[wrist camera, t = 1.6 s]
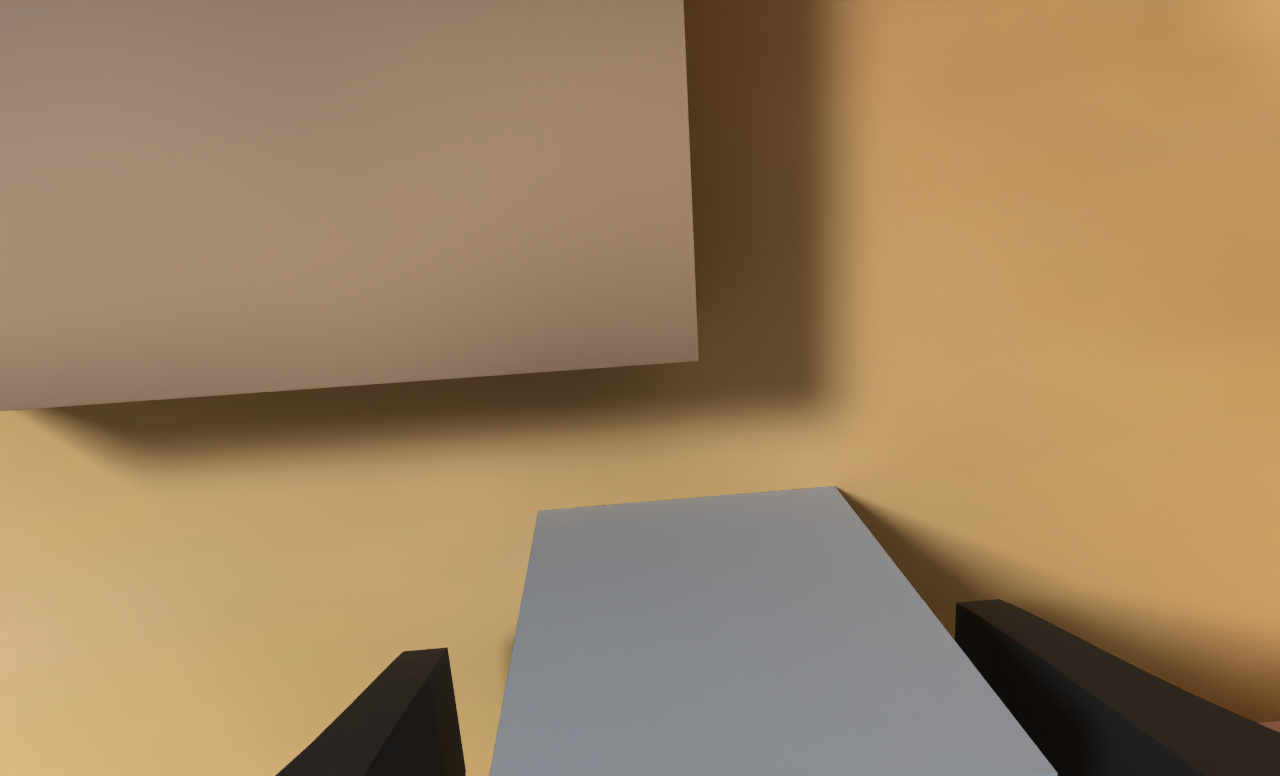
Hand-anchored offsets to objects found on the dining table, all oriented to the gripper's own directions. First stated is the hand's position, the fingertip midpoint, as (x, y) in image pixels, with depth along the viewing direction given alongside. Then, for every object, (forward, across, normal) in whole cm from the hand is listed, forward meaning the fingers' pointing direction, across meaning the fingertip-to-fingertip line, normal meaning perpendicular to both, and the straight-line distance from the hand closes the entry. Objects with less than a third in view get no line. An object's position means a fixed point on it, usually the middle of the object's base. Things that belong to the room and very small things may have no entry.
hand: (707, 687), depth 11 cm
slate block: (+2, 0, 0) cm, 2 cm away
